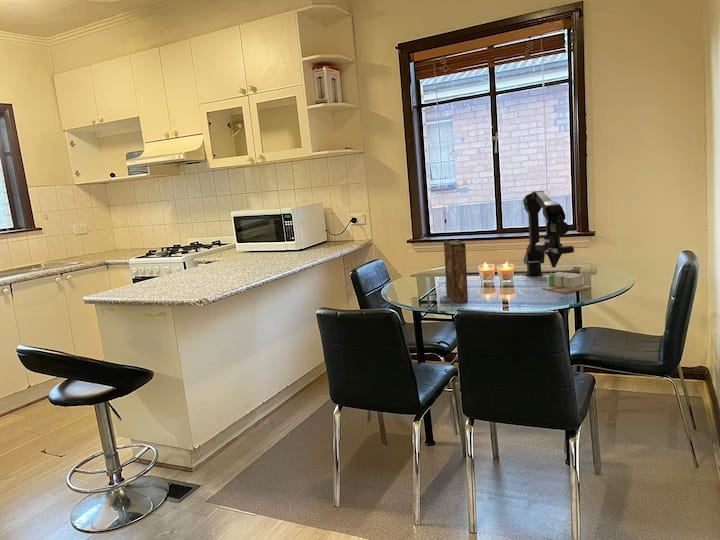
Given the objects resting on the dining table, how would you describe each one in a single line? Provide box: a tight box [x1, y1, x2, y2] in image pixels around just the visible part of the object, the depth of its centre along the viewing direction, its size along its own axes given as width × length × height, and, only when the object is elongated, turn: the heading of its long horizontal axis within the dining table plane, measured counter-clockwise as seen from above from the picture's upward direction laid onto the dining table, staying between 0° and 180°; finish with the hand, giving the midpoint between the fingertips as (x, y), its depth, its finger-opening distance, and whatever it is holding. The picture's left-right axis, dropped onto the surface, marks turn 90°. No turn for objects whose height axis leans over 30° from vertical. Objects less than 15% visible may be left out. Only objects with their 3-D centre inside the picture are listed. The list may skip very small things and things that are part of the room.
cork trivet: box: [542, 284, 592, 295], centre depth 236 cm, size 13×15×1 cm
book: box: [443, 239, 469, 304], centre depth 232 cm, size 16×6×25 cm, turn 5°
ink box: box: [548, 271, 584, 288], centre depth 239 cm, size 9×5×12 cm
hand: (553, 267), depth 241 cm, fingers closed
